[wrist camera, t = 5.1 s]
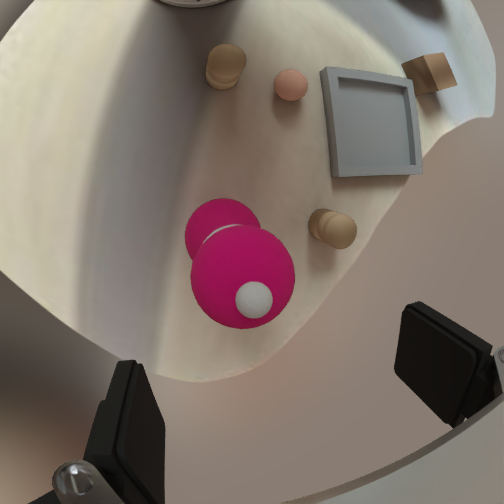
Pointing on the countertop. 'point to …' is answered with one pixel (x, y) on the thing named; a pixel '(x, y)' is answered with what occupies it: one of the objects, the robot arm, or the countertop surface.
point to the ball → (290, 85)
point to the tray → (370, 123)
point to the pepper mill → (237, 265)
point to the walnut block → (429, 73)
